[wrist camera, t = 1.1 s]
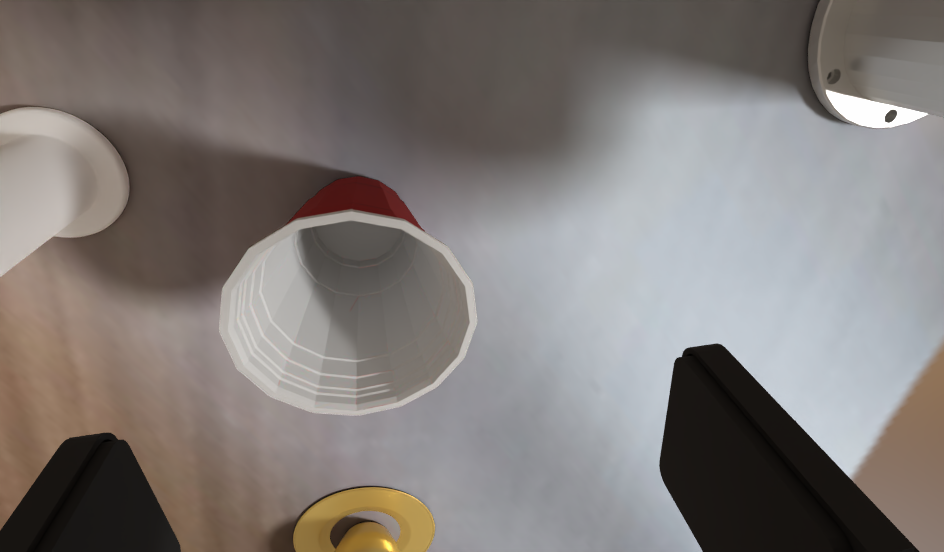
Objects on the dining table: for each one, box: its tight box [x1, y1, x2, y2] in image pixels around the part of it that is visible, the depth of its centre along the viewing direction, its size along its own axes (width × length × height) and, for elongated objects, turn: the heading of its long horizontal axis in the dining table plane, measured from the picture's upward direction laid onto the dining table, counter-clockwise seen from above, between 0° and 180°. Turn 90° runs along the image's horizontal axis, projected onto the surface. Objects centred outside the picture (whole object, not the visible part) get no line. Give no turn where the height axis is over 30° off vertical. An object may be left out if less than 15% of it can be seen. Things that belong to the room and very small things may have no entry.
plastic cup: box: [219, 176, 477, 416], centre depth 28 cm, size 11×11×12 cm
